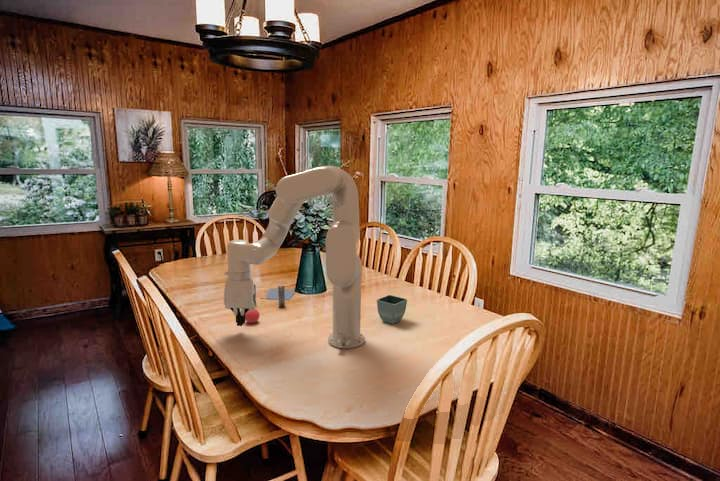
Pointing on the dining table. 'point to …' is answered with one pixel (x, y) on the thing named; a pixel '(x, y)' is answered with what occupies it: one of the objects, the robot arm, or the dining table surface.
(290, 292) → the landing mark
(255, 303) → the post left
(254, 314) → the ball
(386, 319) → the flower pot
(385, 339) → the dining table surface
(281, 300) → the post right
